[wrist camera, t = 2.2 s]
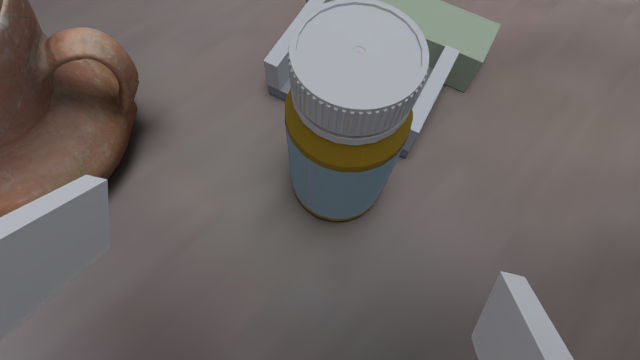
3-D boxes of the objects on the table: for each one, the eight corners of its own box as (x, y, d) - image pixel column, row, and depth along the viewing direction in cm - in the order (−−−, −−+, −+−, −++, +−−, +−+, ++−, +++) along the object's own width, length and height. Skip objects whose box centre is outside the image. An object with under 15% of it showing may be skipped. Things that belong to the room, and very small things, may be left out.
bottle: (349, 241, 28) (388, 150, 15) (274, 191, 30) (244, 65, 16) (396, 171, 31) (467, 35, 17) (324, 127, 32) (335, -32, 18)
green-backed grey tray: (480, 57, 35) (501, 22, 31) (427, 169, 31) (444, 145, 27) (328, -7, 38) (330, -46, 34) (259, 88, 33) (252, 55, 30)
